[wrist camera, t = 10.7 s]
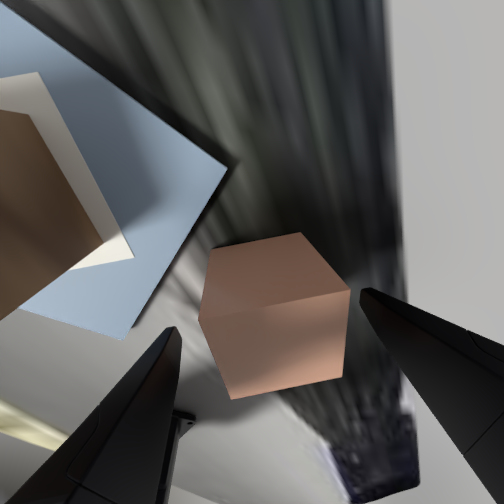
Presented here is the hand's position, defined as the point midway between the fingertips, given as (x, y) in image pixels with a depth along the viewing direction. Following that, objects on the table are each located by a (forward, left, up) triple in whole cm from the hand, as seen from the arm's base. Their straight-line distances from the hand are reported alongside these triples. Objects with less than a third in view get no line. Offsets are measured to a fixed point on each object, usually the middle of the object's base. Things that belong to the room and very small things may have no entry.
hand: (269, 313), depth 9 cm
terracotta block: (0, 0, -3) cm, 3 cm away
